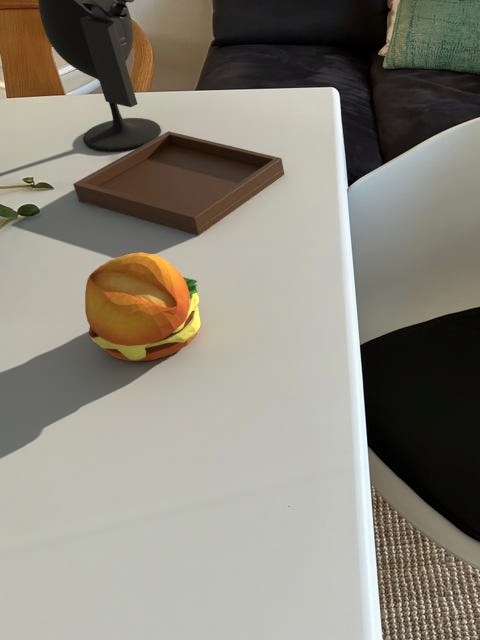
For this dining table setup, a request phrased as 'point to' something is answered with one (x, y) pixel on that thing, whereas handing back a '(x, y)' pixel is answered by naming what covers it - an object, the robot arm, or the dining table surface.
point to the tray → (180, 181)
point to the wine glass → (93, 74)
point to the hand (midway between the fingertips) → (55, 135)
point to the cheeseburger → (141, 307)
